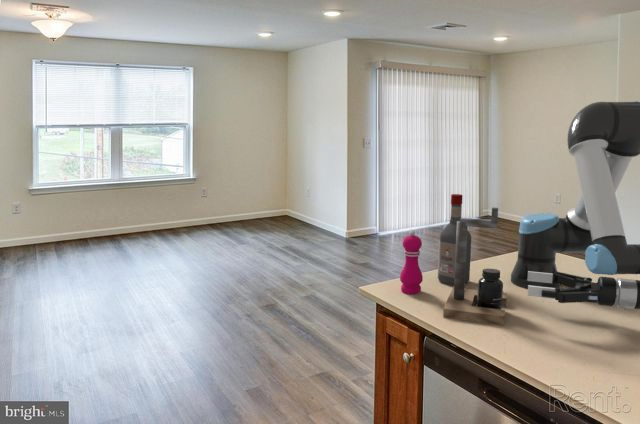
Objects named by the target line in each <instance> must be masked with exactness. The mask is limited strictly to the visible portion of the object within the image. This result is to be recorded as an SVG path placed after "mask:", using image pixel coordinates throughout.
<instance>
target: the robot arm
mask: <svg viewBox="0 0 640 424" xmlns="http://www.w3.org/2000/svg"><path fill="white" fill-rule="evenodd" d="M567 131H568V132H567V138H566V139H567V146H568V147H567V149H568V153H569V155H571V156H572V157H574V160H575V166H576V171H577V175H578V180H579V185H580V189H581V190H580V191H581V193H580V196H579V198H578V200H577V203H576V206H574V207H571V208H570V209H569V210H568V211H567V213H566V215H565V217H559V215H557V214H555V213H551V212H548V213H545V212H544V213H543V212H542V213H541V212H540V213H539V212H538V213H532V214H528V215H524V216H523V217H522V218H521V219H520V221H519V229H518V246H517V260H516V262H515V264H514V267H513V269H512V272H511V274H510V282H511V283H512V284H514V285H515V286H517V287H518V286H519V287H520V288H526V289H527V296H528V297H535V298H542V299H543V298H544V299H551V300H555V301H557V303H559V304H566V303H567V304H569V303H570V304H572V303H594V304H595V303H597V304H598V305H599V306H606V307H614V305H615V306H616V307H618V308H623V309H624V310H628V309H635V310H640V280H639V279H633V278H624V277H623V278H621V277H617V278H616V279H615V278H614V277H609V276H615V275H640V244H638V243H637V244H636V243H635V244H628V242H627V238H626V234H625V229H624V224H623V221H622V217H621V214H620V213H621V212H620V209H619V204H618V199H617V195H616V192H617V191H618V188H619V186H620V183H621V181H622V180H623V177H624V175H625V173H626V171H627V169H628V167H629V165H630V163H631V161H632V159H633V158H636V157H638V156H640V101H639V100H636V101H596V102H592V103H590V104H588V105H586V106H585V107H583V108H581V109H580V110H579V111H578V112H577V113H576V115H575V116H574V117H573V119H572V120H571V123H570V125H569V127H568V130H567ZM556 254H584V256H585V258H584V263H585V266H586V267H587V270H589V272H591V273H592V274H595V275H605V276H599V277H598V278H597V282H592V281H593V278H591V277H585V276H579V275H574V274H569V273H566V272H561V271H558V268H557V265H556V258H557V257H556ZM606 275H607V276H606ZM559 286H565V287H566V288H560V287H559Z"/></svg>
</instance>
